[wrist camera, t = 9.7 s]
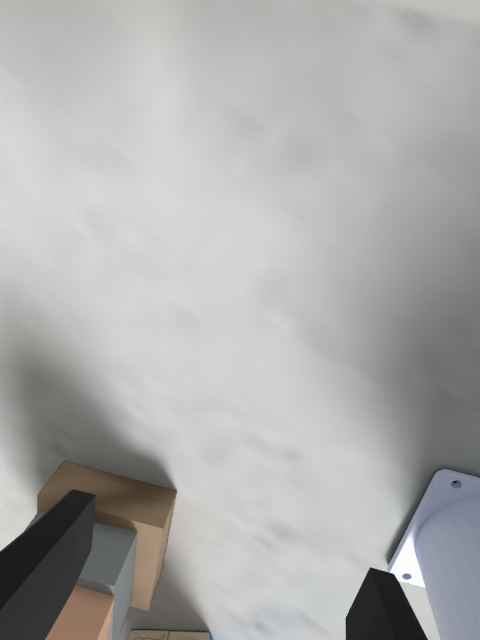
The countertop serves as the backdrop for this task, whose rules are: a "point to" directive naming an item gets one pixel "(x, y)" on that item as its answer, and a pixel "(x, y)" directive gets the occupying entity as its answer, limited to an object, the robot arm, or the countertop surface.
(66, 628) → the terracotta block
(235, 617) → the countertop surface
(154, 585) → the walnut base block
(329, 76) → the countertop surface
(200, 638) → the stack of blocks
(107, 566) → the gray top block
